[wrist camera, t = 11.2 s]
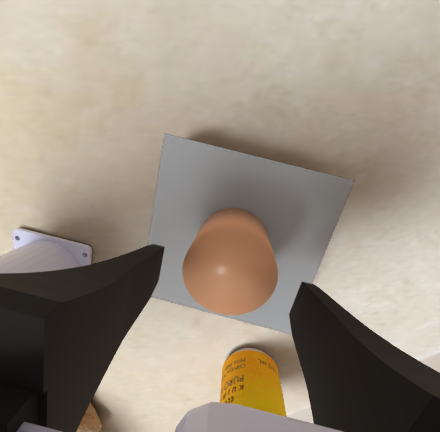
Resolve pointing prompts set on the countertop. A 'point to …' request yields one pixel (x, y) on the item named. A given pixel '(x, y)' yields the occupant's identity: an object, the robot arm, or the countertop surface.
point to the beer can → (252, 381)
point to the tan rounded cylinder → (231, 263)
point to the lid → (250, 201)
